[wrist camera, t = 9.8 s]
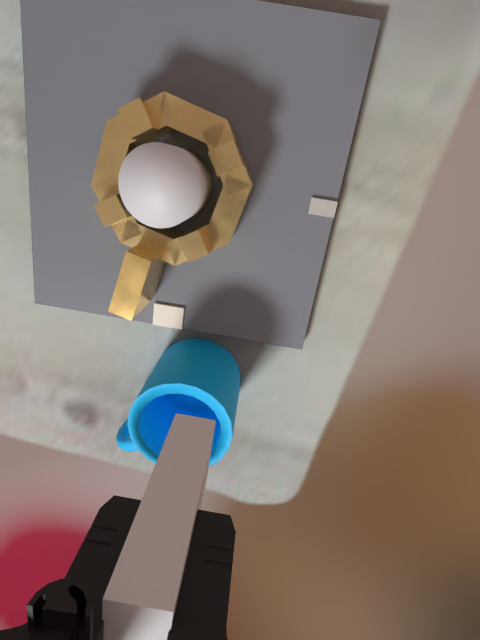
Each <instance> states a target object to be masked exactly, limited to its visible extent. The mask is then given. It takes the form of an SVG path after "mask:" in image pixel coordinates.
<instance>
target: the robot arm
mask: <svg viewBox="0 0 480 640" xmlns="http://www.w3.org/2000/svg"><path fill="white" fill-rule="evenodd" d="M215 424H216V420H211V419H206V418H200V417H194V416H189V415H183V414H177V413H176V414H175V417H174V419H173V422H172V424H171V427H170V429H169V432H168V435H167V437H166V440H165V442H164V445H163V447H162V450H161V452H160V455H159V457H158V460H157V462H156V465H155V468H154V470H153V473H152V475H151V478H150V480H149V483H148V485H147V488H146V490H145V493H144V496H143V498H142V500H136V499H131V498H125V497H120V496H113V497H112V498H111V499H110V500H109V501H108V502H106V503H105V504H104V505H103V506H102V507H101V508H100V510H99V511H98V513H97V516H96V517H95V520H94V522H93V524H92V526H91V528H90V529H89V531H88V533H87V535H86V537H85V540H84V542H83V543H82V545H81V547H80V549H79V551H78V553H77V555H76V557H75V559H74V561H73V563H72V565H71V567H70V569H69V571H68V573H67V575H66V576H65V578H64V579H60V580H57V581H54V582H51V583H49V584H47V585H46V586H44V587H43V588H42V589H40V590H39V591H38V592H37V593H36V594H35V595H34V596H33V597H32V599H31V600H30V601H29V603H28V604H27V615H28V622H27V623H26V624H24V625H21V626H18V627H14V628H11V629H6V630H0V640H227V636H226V623H227V622H226V621H227V613H228V603H229V593H230V583H231V572H232V562H233V551H234V543H235V533H236V532H235V529H234V526H233V522H232V519H231V516H230V515H225V514H220V513H214V512H209V511H203V510H200V508H201V503H202V498H203V493H204V489H205V484H206V480H207V474H208V468H209V462H210V455H211V449H212V443H213V436H214V430H215Z"/></svg>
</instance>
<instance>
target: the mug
mask: <svg viewBox="0 0 480 640" xmlns="http://www.w3.org/2000/svg"><path fill="white" fill-rule="evenodd" d="M240 382H241V380H240V370H239V367H238V365H237V363H236V361H235V359H234V357H233V356H232V355H231V354H230V353H229V352H228V351H227V350H226V349H225V348H224V347H222V346H220V345H219V344H217V343H215V342H213V341H210V340H206V339H202V338H191V339H184V340H181V341H179V342H176V343H174V344H173V345H171V346H170V347H169V348H168V349H166V350H165V351H164V353H163V354H162V356H161V358H160V360H159V361H158V363H157V365H156V366H155V368H154V370H153V371H152V373H151V375H150V376H149V378H148V380H147V381H146V383H145V385H144V386H143V388H142V390H141V392H140V393H139V395H138V397H137V398H136V400H135V402H134V403H133V405H132V407H131V408H130V410H129V416H128V419H127V420H126V421H125V422H124V424H123V425H122V426H121V428H120V429H119V431H118V434H117V436H116V440H117V444H118V446H119V447H120V448H121V449H123V450H126V451H130V452H131V451H136V450H139V451H140V452H141V453H142V454H143V455H144V456H145V457H146V458H148V459H149V460H150V461H152V462H154V463H156V462H157V460H158V457H159V455H160V452H161V450H162V447H163V445H164V442H165V440H166V437H167V435H168V432H169V429H170V427H171V424H172V422H173V419H174V417H175V414H176V413H177V414H183V415H189V416H194V417H200V418H206V419H211V420H216V424H215V430H214V436H213V443H212V449H211V455H210V462H209V467H210V466H211V465H213V464H214V463H216V462H217V461H219V460H220V459H221V458H222V457H223V456H224V454H225V453H226V452H227V450H228V449H229V447H230V443H231V439H232V436H233V429H234V423H235V416H236V409H237V402H238V395H239V388H240ZM129 437H130V438H129Z"/></svg>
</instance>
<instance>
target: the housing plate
mask: <svg viewBox="0 0 480 640" xmlns="http://www.w3.org/2000/svg"><path fill="white" fill-rule="evenodd" d="M20 4H21V24H22V45H23V66H24V86H25V107H26V128H27V148H28V169H29V190H30V210H31V231H32V252H33V272H34V293H35V303H37V304H43V305H49V306H54V307H60V308H66V309H72V310H77V311H83V312H89V313H95V314H100V315H106V316H112V317H118V318H123V317H121V316H118V315H116V314H113V313H111V312H108V310H109V306H110V303H111V300H112V296H113V293H114V290H115V286H116V283H117V280H118V276H119V273H120V270H121V266H122V263H123V259H124V256H125V253H126V251H127V250H129V249H131V248H132V247H129V246H127V245H125V244H122V243H120V241H119V239H118V237H117V235H116V233H115V231H114V229H113V227H112V225H111V226H108V227H104V225H103V223H102V221H101V219H100V218H99V216H98V214H97V212H96V210H95V208H94V206H93V205H95V204H97V203H99V200H98V198H97V196H96V194H95V192H94V190H93V188H92V186H91V182H92V178H93V174H94V170H95V166H96V162H97V158H98V154H99V150H100V146H101V142H102V137H103V133H104V129H105V125H106V121H107V120H109V119H111V118H113V117H115V116H117V115H119V112H118V108H120V107H122V106H124V105H126V104H128V103H130V102H132V101H134V100H136V99H138V98H139V97H140V98H142V99H143V100H145V101H146V100H148V99H150V98H152V97H154V96H156V95H158V94H160V93H162V92H164V91H165V92H167V93H170V94H172V95H174V96H176V97H178V98H181V99H183V100H185V101H187V102H189V103H192V104H194V105H196V106H198V107H200V108H203V109H205V110H207V111H209V112H211V113H214V114H216V115H218V116H220V117H222V118H225V119H227V120H228V121H229V122H230V124H231V125H232V127H233V130H234V133H235V135H236V138H237V141H238V143H239V146H240V148H241V151H242V154H243V156H244V159H245V162H246V164H247V167H248V170H249V172H250V175H251V178H252V180H253V183H254V185H253V188H252V190H251V193H250V195H249V198H248V200H247V203H246V205H245V208H244V210H243V212H242V215H241V217H240V220H239V222H238V225H237V227H236V230H235V232H234V235H233V237H232V239H231V241H230V242H229V244H228V245H225V246H223V247H220V248H218V249H215V250H213V251H211V252H210V254H209V255H206V256H204V257H201V258H199V259H196V260H194V261H191V262H189V263H188V261H186V262H183V263H181V264H178V265H176V266H175V265H172V264H170V263H168V262H166V263H165V266H164V269H163V272H162V275H161V278H160V280H159V283H158V286H157V289H156V292H155V295H154V298H153V299H152V300H151V301H150V302H149V303H148V304H147V305H146V306H145V307H144V308H143V309H142V311H141V312H140V313H139V314H138V315H137V316H136V317H135V318H134V319H133V320H135V321H141V322H147V323H152V324H153V325H157V326H163V327H169V328H174V329H180V330H182V329H187V330H193V331H198V332H204V333H210V334H216V335H222V336H227V337H233V338H239V339H245V340H250V341H256V342H262V343H268V344H273V345H279V346H285V347H291V348H297V349H302V347H303V343H304V339H305V335H306V331H307V326H308V322H309V318H310V314H311V310H312V306H313V301H314V297H315V293H316V289H317V285H318V280H319V276H320V272H321V268H322V264H323V260H324V255H325V251H326V247H327V243H328V239H329V235H330V230H331V226H332V222H333V218H334V216H335V212H336V208H337V204H338V202H337V201H338V197H339V193H340V189H341V184H342V180H343V176H344V172H345V168H346V164H347V159H348V155H349V151H350V147H351V143H352V139H353V134H354V130H355V126H356V122H357V118H358V113H359V109H360V105H361V101H362V97H363V93H364V88H365V84H366V80H367V76H368V72H369V68H370V63H371V59H372V55H373V51H374V47H375V43H376V38H377V34H378V30H379V26H380V22H381V20H378V19H372V18H366V17H359V16H353V15H347V14H341V13H335V12H328V11H322V10H316V9H310V8H303V7H297V6H291V5H285V4H278V3H272V2H266V1H260V0H20ZM208 151H209V148H208V146H207V143H205V142H202V141H200V140H198V139H196V138H193V137H191V136H189V135H187V134H184V133H182V132H180V131H178V130H176V131H174V132H172V133H170V134H168V135H166V136H164V137H162V138H160V139H158V140H156V141H154V142H150V143H145V144H143V145H140V146H138V147H136V148H135V149H134V150H132V151H131V152H130V153H129V154H128V155H127V157H126V158H125V159H124V161H123V163H122V165H121V168H120V172H119V178H118V186H119V192H120V196H121V199H122V201H123V203H124V205H125V207H126V208H127V210H128V211H129V212H130V214H131V215H132V216H133V217H134V218H136V219H137V220H138V221H140V222H141V223H143V224H145V225H147V226H150V227H154V228H169V227H170V228H172V229H174V230H177V231H179V232H181V233H184V232H186V231H188V230H191V229H193V228H196V227H198V226H200V225H203V224H205V223H207V222H210V220H211V217H212V215H213V212H214V209H215V207H216V204H217V201H218V199H219V196H220V193H221V191H222V188H223V183H222V180H221V178H220V177H217V174H216V172H215V169H214V167H213V164H212V162H211V159H210V157H209V154H208ZM124 319H126V318H124Z"/></svg>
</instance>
